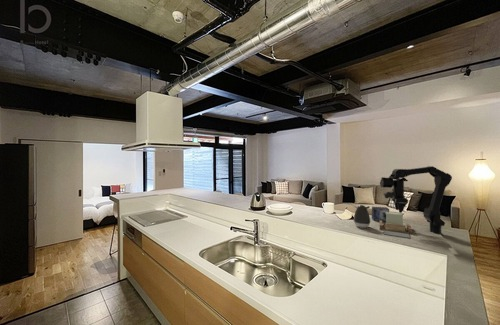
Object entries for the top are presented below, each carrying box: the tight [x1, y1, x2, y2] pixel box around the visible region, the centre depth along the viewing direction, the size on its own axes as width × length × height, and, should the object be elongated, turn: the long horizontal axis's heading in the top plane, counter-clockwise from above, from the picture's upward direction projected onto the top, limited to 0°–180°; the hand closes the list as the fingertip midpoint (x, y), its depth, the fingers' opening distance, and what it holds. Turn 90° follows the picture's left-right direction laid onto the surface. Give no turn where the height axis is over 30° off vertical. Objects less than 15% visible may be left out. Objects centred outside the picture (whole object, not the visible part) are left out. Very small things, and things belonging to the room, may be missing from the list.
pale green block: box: [385, 212, 404, 225], centre depth 142 cm, size 3×9×10 cm, turn 58°
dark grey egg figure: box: [353, 204, 371, 229], centre depth 145 cm, size 10×10×15 cm
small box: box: [371, 206, 390, 223], centre depth 159 cm, size 11×6×10 cm, turn 72°
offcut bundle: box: [384, 222, 406, 232], centre depth 136 cm, size 2×11×4 cm, turn 58°
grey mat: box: [383, 231, 411, 239], centre depth 129 cm, size 7×13×1 cm, turn 58°
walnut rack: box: [378, 220, 413, 235], centre depth 140 cm, size 15×17×3 cm
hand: (398, 211), depth 138 cm, fingers open, 9 cm apart
